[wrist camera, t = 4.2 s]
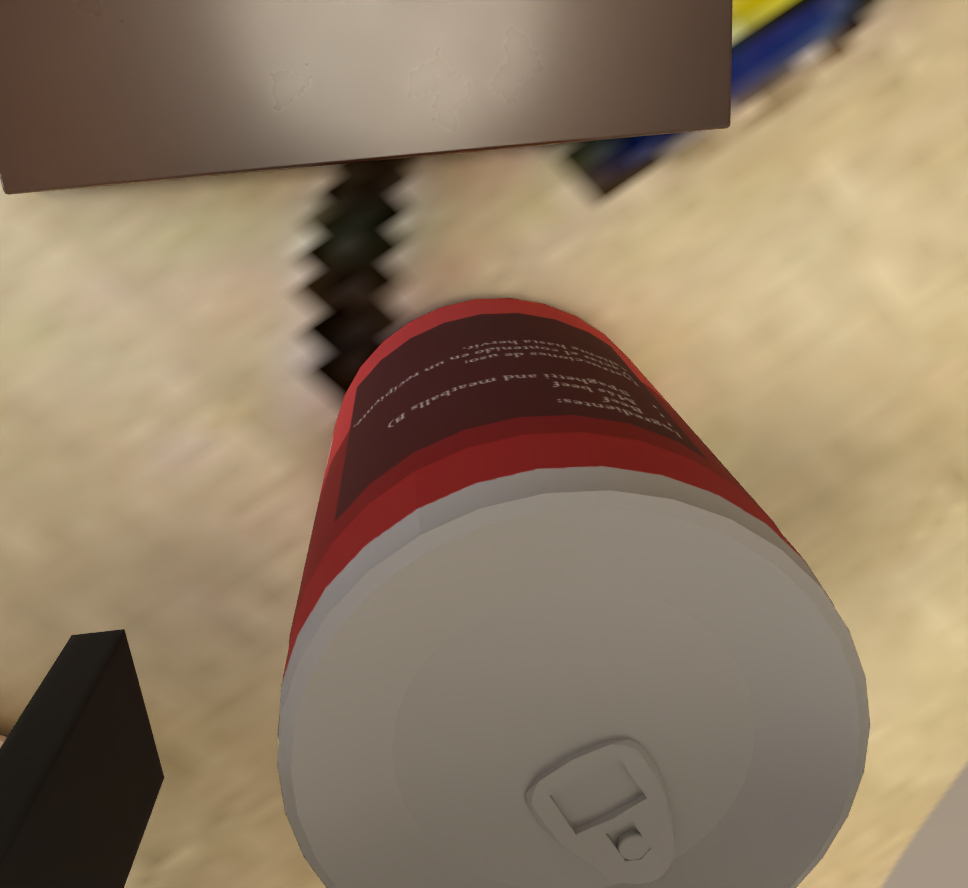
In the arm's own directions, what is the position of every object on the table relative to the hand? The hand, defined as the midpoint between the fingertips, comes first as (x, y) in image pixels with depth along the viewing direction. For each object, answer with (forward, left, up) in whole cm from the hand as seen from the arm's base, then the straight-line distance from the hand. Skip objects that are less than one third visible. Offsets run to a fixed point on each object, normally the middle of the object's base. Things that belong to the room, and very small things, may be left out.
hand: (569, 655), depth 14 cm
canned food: (0, 0, -9) cm, 9 cm away
